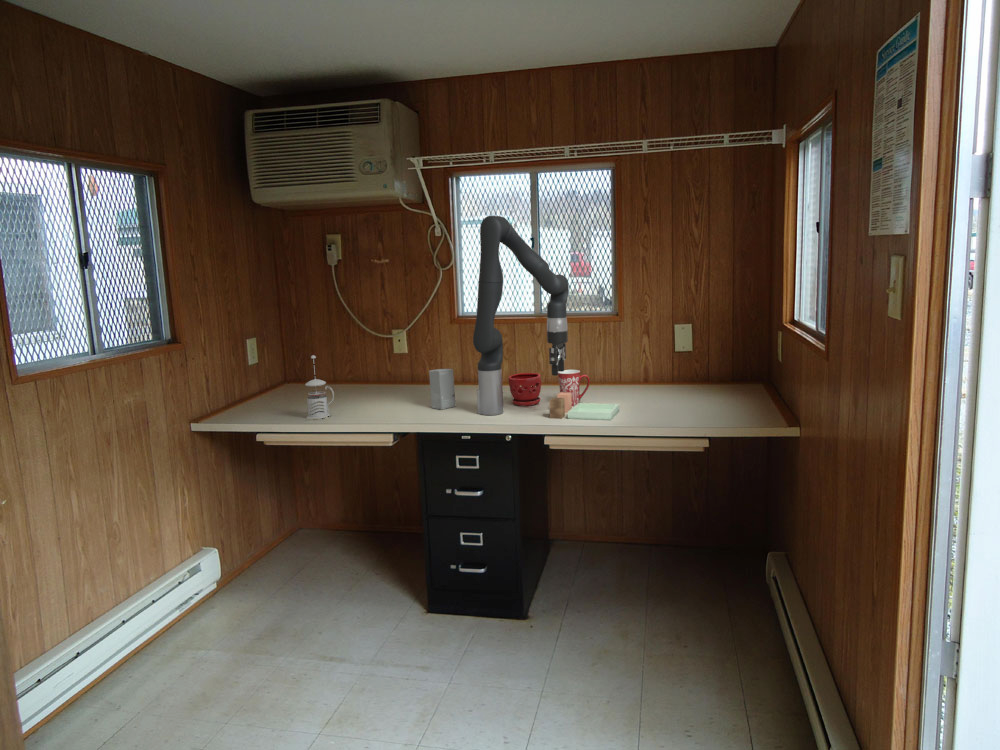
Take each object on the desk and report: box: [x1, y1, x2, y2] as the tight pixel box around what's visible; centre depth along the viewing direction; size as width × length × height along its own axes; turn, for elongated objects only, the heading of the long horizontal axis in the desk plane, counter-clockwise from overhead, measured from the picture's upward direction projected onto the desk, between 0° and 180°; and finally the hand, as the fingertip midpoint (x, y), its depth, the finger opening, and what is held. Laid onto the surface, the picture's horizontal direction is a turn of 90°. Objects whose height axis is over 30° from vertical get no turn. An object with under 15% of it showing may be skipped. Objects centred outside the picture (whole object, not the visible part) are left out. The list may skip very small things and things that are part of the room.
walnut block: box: [549, 397, 566, 420], centre depth 271 cm, size 4×4×7 cm
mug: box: [557, 369, 591, 407], centre depth 291 cm, size 13×9×14 cm
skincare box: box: [428, 368, 456, 410], centre depth 298 cm, size 8×7×16 cm
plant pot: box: [508, 372, 542, 407], centre depth 297 cm, size 13×13×12 cm
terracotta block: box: [556, 391, 573, 414], centre depth 280 cm, size 4×4×7 cm
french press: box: [305, 354, 335, 418], centre depth 290 cm, size 10×12×25 cm
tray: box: [567, 402, 620, 421], centre depth 272 cm, size 16×16×3 cm
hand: (558, 373), depth 269 cm, fingers open, 8 cm apart
